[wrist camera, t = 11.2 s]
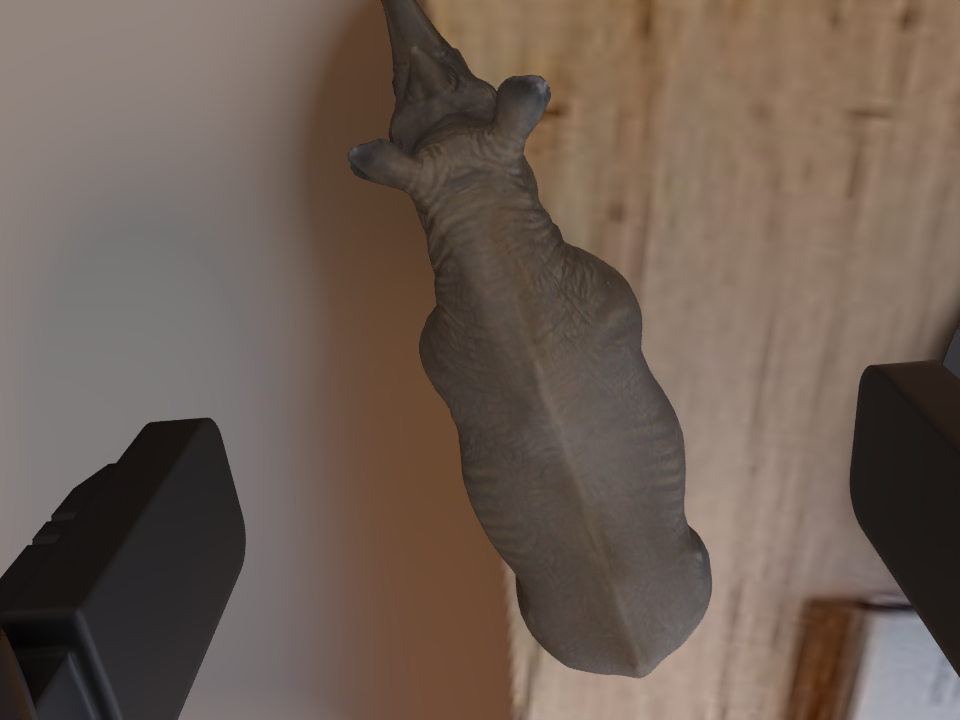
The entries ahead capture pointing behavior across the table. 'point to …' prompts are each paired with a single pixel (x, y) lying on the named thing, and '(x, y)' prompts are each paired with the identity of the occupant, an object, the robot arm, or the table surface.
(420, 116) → the rhino figurine
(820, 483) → the table surface
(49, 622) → the robot arm
